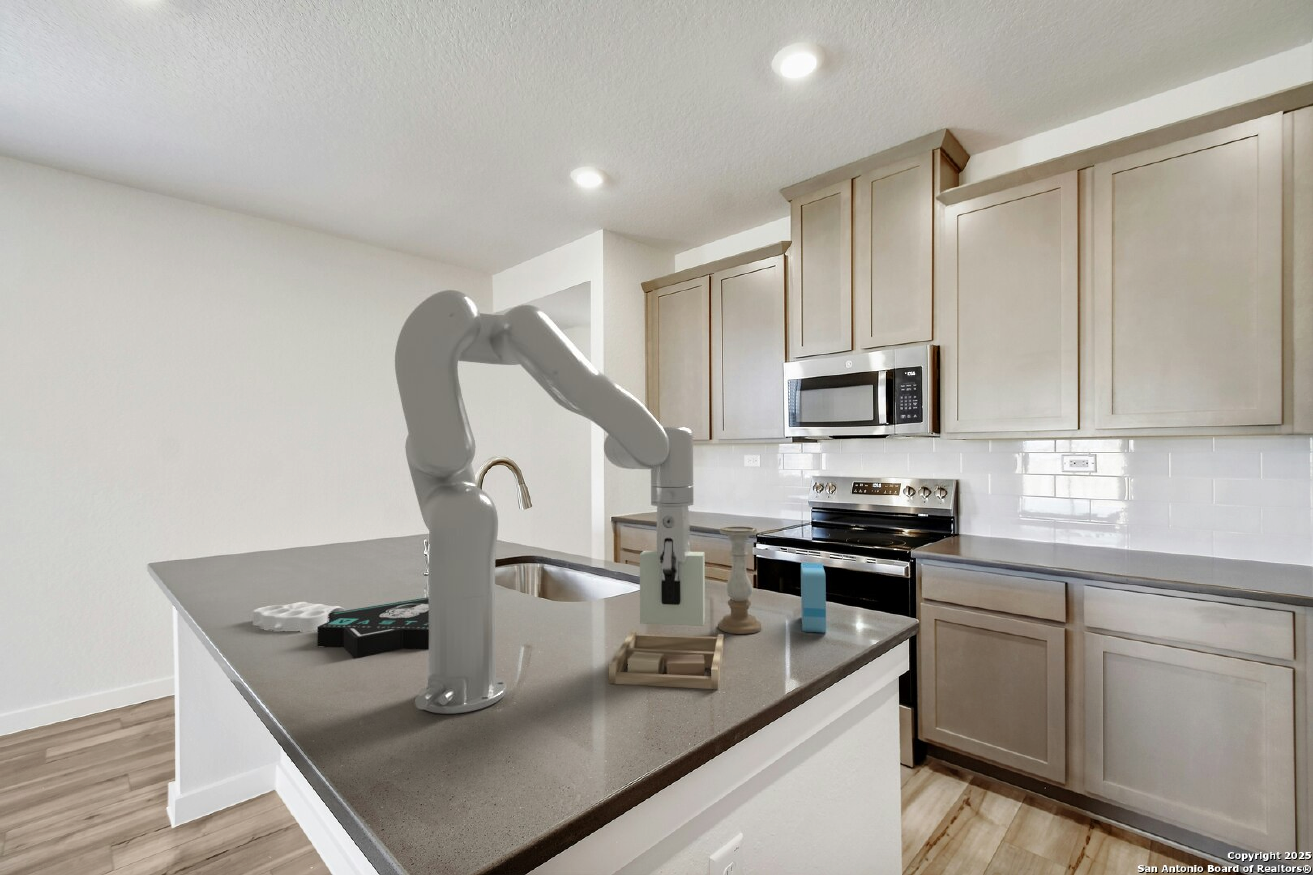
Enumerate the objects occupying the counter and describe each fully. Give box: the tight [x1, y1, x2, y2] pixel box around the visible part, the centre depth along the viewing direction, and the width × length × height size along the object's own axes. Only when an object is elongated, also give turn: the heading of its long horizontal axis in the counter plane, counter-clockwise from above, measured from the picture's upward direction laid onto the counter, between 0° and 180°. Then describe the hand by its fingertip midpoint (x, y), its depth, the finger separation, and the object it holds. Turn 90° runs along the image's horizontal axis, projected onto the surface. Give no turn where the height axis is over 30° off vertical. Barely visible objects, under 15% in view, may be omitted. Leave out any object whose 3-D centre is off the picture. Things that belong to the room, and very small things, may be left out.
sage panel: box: [639, 550, 706, 627], centre depth 106 cm, size 4×11×12 cm, turn 81°
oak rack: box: [608, 630, 725, 690], centre depth 102 cm, size 18×17×3 cm
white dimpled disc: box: [252, 601, 346, 633], centre depth 130 cm, size 3×18×15 cm
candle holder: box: [717, 525, 762, 635], centre depth 123 cm, size 9×9×20 cm
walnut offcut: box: [666, 655, 706, 676], centre depth 97 cm, size 4×6×3 cm, turn 89°
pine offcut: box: [627, 652, 665, 674], centre depth 99 cm, size 4×5×3 cm
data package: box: [800, 562, 827, 633], centre depth 125 cm, size 12×4×12 cm, turn 167°
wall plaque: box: [316, 596, 429, 659], centre depth 122 cm, size 30×4×30 cm
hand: (672, 599), depth 106 cm, fingers closed on sage panel, 4 cm apart
